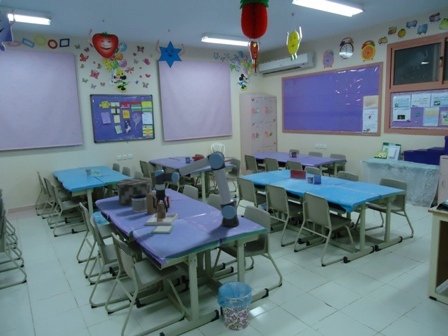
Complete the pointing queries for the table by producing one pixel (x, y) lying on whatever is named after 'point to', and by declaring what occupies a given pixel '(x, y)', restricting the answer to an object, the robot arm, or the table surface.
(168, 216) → the tray
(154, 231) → the board
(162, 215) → the walnut box
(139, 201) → the planter
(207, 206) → the table surface
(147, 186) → the storage box
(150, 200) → the wooden block
